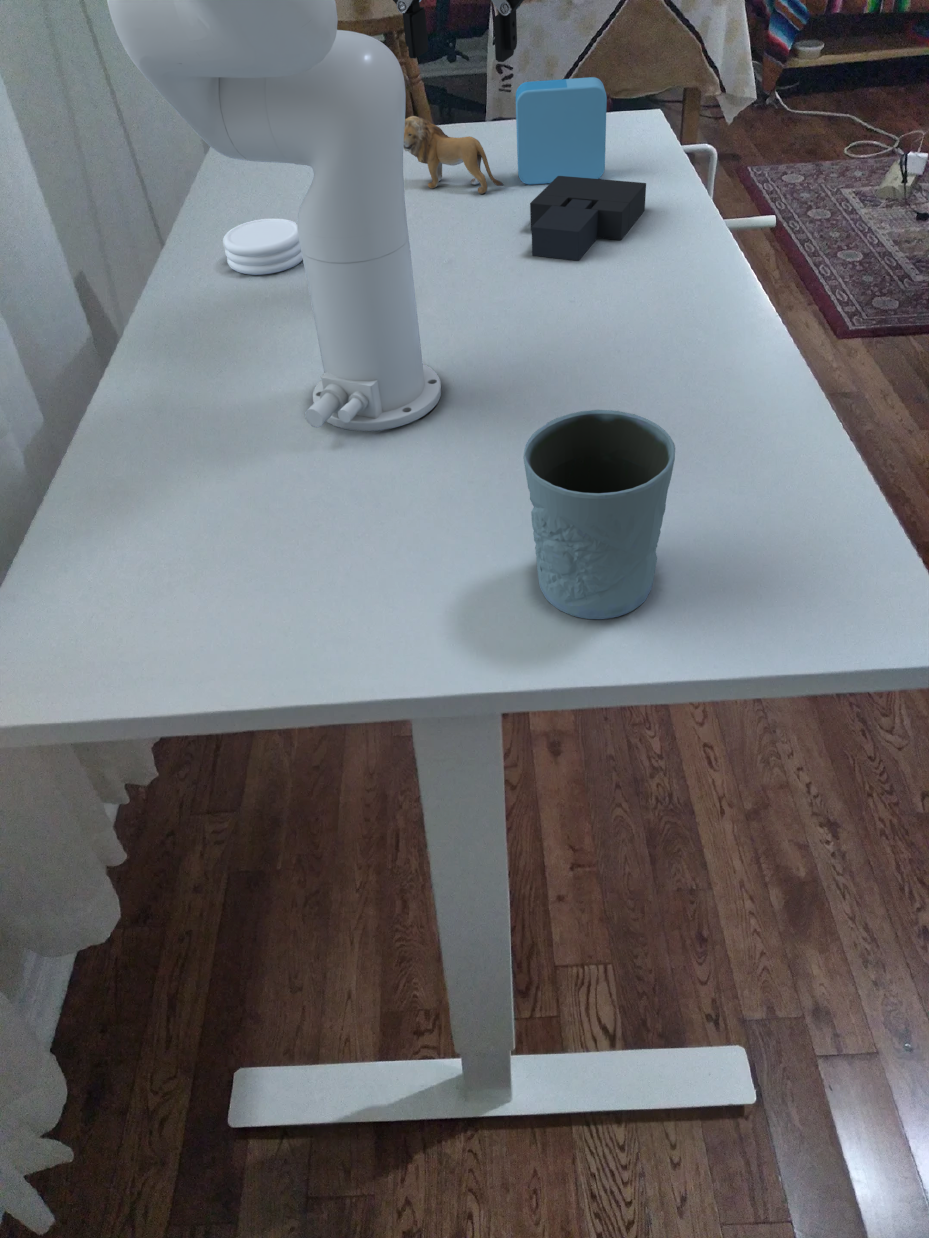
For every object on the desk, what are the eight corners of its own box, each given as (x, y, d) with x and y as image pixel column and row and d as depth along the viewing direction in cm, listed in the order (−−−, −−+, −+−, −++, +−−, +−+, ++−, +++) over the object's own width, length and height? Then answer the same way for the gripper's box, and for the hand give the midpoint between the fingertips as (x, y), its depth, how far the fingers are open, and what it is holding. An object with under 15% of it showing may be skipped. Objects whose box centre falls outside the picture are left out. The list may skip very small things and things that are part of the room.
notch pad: (621, 240, 119) (622, 211, 117) (530, 231, 123) (529, 203, 121) (644, 210, 126) (646, 183, 123) (558, 202, 130) (558, 175, 127)
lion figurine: (399, 190, 137) (392, 122, 131) (413, 177, 141) (407, 110, 135) (497, 196, 133) (494, 126, 127) (509, 182, 137) (507, 113, 131)
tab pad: (578, 261, 116) (578, 231, 113) (531, 255, 118) (531, 227, 115) (604, 230, 122) (605, 201, 120) (559, 225, 124) (559, 197, 122)
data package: (602, 169, 138) (604, 76, 130) (604, 180, 135) (607, 85, 126) (517, 174, 139) (515, 82, 131) (518, 186, 135) (515, 91, 127)
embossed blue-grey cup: (650, 537, 77) (660, 404, 68) (675, 624, 69) (690, 486, 61) (522, 547, 77) (517, 415, 69) (533, 635, 69) (529, 499, 61)
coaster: (215, 275, 120) (208, 247, 118) (247, 243, 127) (241, 216, 125) (290, 278, 118) (284, 249, 116) (318, 245, 125) (313, 217, 122)
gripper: (343, -149, 87) (369, 63, 99) (521, -157, 81) (526, 70, 93) (382, -159, 92) (402, 45, 104) (553, -167, 86) (554, 50, 98)
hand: (461, 57), depth 98 cm, fingers open, 9 cm apart
